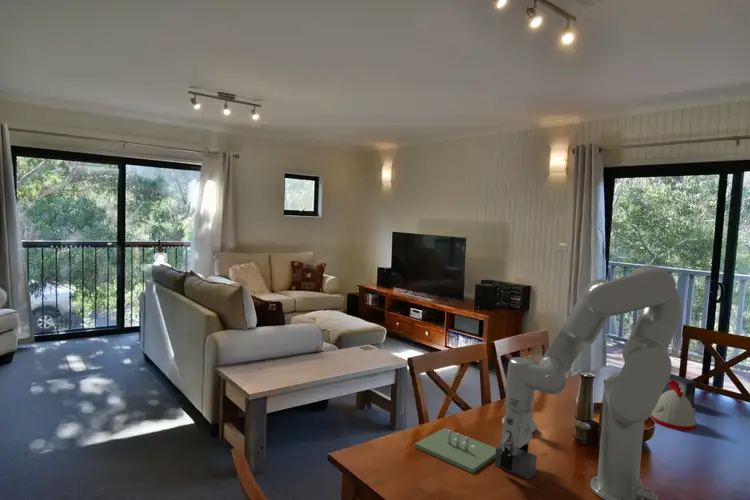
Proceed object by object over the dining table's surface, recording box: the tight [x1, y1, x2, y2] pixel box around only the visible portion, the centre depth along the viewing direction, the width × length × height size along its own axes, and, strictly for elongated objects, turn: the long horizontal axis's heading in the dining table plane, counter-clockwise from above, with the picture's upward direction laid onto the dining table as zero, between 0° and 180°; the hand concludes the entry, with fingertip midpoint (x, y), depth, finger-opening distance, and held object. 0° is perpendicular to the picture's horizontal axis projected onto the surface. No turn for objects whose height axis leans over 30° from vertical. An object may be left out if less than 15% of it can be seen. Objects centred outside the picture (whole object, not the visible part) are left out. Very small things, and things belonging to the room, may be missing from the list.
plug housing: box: [494, 445, 538, 480], centre depth 133 cm, size 10×4×5 cm, turn 48°
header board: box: [414, 427, 497, 474], centre depth 142 cm, size 20×16×5 cm
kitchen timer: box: [650, 380, 697, 432], centre depth 171 cm, size 14×14×15 cm
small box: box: [661, 373, 697, 408], centre depth 191 cm, size 11×6×10 cm, turn 25°
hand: (513, 462), depth 133 cm, fingers open, 9 cm apart
